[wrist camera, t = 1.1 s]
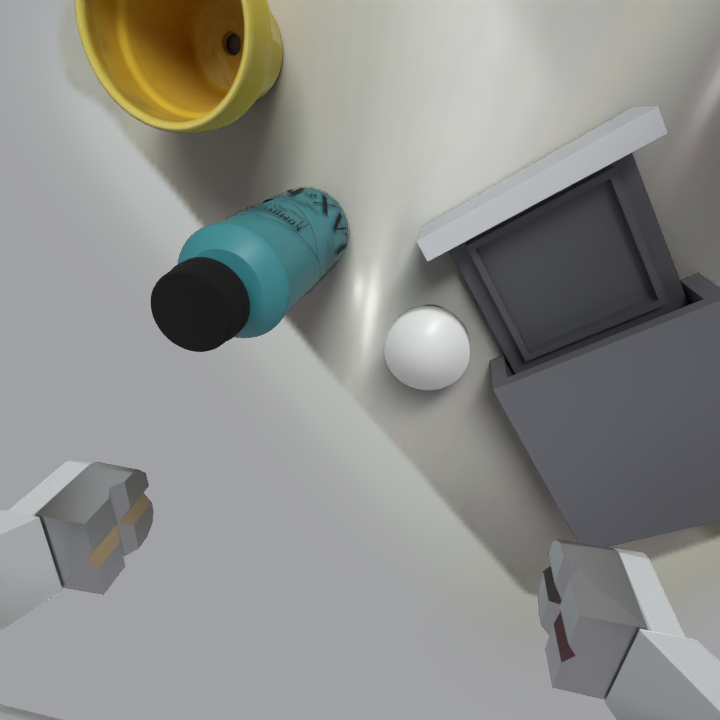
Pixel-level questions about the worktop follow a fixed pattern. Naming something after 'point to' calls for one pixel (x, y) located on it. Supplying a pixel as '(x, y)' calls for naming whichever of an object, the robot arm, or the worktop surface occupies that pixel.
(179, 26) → the plant pot
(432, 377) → the disc
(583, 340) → the tray
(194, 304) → the beverage bottle
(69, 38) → the worktop surface
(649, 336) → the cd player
